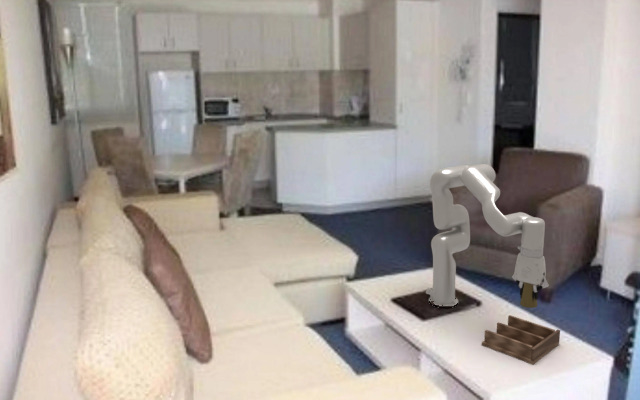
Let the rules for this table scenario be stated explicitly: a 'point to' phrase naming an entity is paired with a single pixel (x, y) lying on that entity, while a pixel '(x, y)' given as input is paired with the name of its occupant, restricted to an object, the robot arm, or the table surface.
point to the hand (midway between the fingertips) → (528, 298)
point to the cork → (528, 296)
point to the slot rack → (522, 339)
